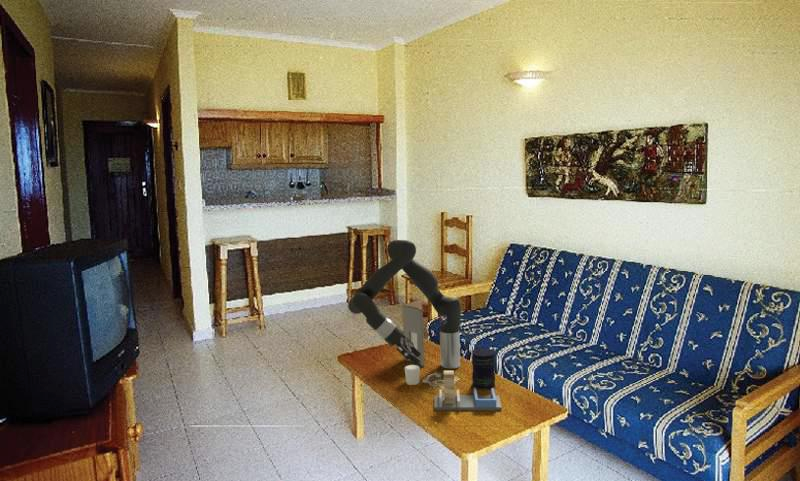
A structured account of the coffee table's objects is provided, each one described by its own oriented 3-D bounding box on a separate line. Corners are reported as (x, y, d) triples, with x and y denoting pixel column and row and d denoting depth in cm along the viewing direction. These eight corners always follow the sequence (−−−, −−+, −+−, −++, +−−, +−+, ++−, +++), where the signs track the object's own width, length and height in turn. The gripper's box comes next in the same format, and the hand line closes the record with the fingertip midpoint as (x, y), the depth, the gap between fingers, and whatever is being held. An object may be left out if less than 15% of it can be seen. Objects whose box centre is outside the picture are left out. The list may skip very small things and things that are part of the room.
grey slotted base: (434, 398, 219) (434, 388, 218) (498, 398, 217) (498, 388, 216) (434, 410, 208) (434, 400, 208) (501, 410, 206) (501, 399, 205)
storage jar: (500, 386, 229) (499, 345, 226) (481, 391, 224) (481, 350, 222) (485, 378, 237) (484, 339, 235) (467, 383, 233) (466, 343, 230)
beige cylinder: (422, 380, 238) (421, 365, 237) (417, 386, 232) (417, 370, 231) (407, 378, 240) (407, 363, 240) (402, 384, 234) (402, 369, 233)
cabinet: (424, 366, 254) (422, 309, 251) (404, 367, 255) (402, 310, 251) (422, 351, 275) (421, 298, 271) (404, 352, 275) (402, 299, 272)
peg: (444, 399, 215) (443, 370, 213) (454, 399, 215) (453, 370, 213) (444, 403, 211) (443, 374, 209) (454, 403, 211) (454, 374, 209)
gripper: (394, 330, 203) (424, 359, 204) (397, 320, 217) (426, 347, 218) (380, 343, 204) (411, 372, 205) (384, 332, 219) (413, 359, 219)
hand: (418, 359), depth 211 cm, fingers open, 8 cm apart
